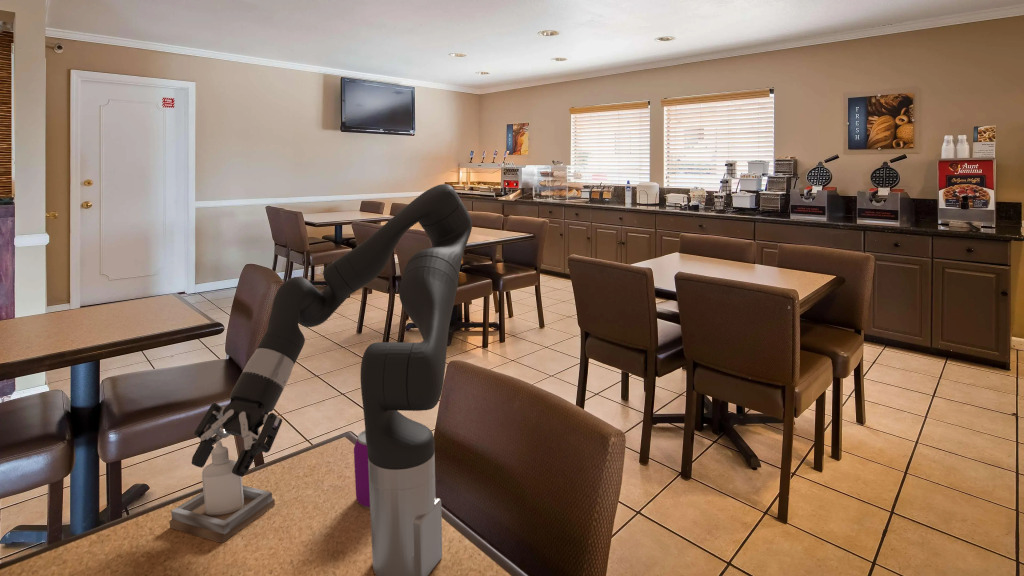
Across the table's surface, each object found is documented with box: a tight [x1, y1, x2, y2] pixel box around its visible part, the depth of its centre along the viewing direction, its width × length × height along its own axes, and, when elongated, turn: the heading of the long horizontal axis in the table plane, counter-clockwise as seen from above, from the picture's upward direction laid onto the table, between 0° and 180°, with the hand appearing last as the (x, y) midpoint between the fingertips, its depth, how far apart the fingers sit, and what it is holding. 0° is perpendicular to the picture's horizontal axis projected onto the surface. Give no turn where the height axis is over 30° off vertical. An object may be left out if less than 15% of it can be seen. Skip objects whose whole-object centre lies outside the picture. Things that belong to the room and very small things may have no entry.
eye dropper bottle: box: [201, 440, 244, 516], centre depth 92 cm, size 4×6×12 cm
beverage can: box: [353, 430, 370, 509], centre depth 98 cm, size 8×8×12 cm
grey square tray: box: [168, 484, 276, 544], centre depth 93 cm, size 11×11×3 cm
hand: (216, 470), depth 91 cm, fingers open, 8 cm apart
